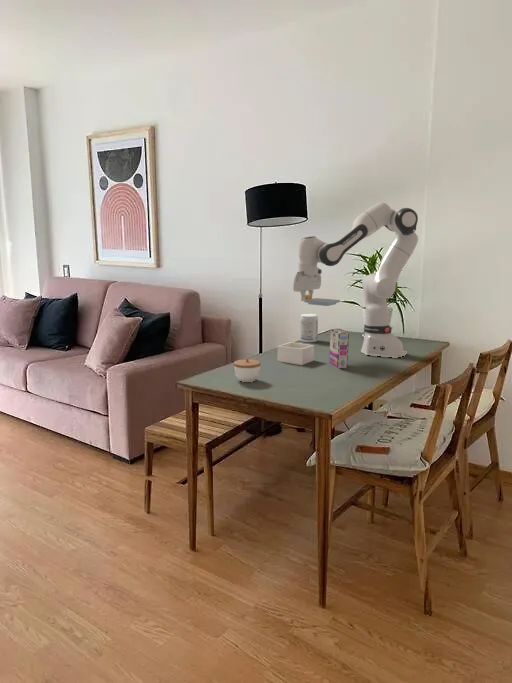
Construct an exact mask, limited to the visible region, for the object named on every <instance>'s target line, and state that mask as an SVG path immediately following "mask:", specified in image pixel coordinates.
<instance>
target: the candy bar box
mask: <svg viewBox="0 0 512 683" xmlns="http://www.w3.org/2000/svg"><path fill="white" fill-rule="evenodd" d="M329 336H330V337H329V363H330V364H332V365H333V366H335V367H336V368H338V370H347V369H348V360H349V343H350V342H349V340H350V339H349V338H350V332H348V331H346V330H344V329H342V328H330V335H329ZM346 368H347V369H346Z"/></svg>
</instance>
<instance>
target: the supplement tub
mask: <svg viewBox="0 0 512 683" xmlns="http://www.w3.org/2000/svg"><path fill="white" fill-rule="evenodd" d="M318 321H319V318H318V314H316V313H302V314H301V315H300V341H301V342H303V343H315V342H317V341H319V340H318V337H319V333H318V331H319V329H318V328H319V322H318Z"/></svg>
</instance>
